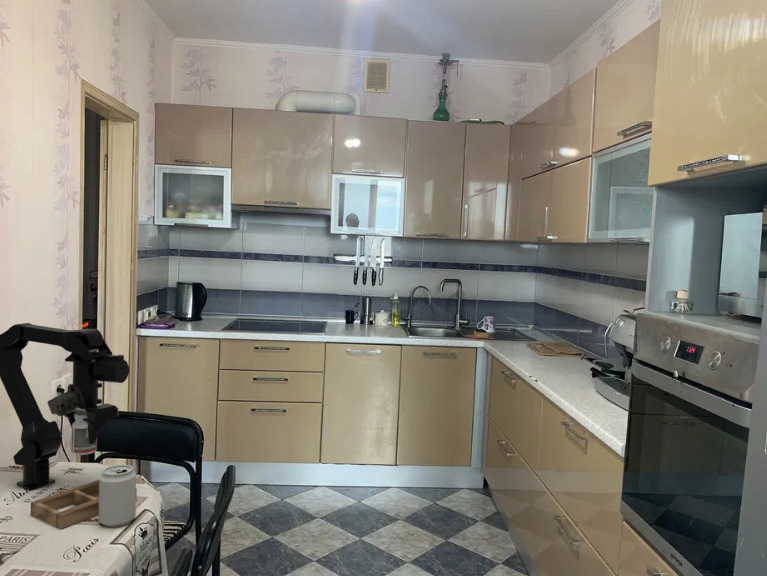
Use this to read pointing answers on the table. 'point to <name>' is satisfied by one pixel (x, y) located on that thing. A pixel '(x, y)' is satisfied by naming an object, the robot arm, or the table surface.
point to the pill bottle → (81, 436)
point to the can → (117, 495)
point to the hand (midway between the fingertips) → (84, 441)
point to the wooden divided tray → (78, 496)
